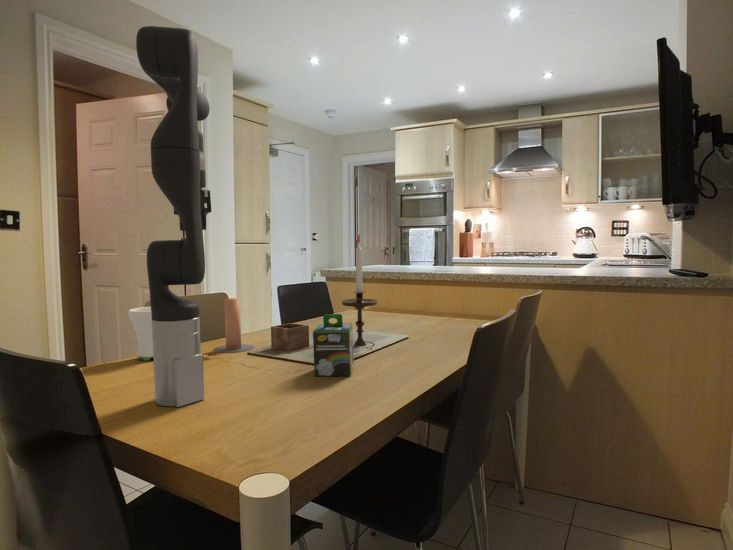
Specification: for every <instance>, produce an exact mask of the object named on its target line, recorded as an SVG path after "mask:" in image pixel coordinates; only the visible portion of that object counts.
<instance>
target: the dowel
mask: <svg viewBox="0 0 733 550" xmlns="http://www.w3.org/2000/svg"><path fill="white" fill-rule="evenodd" d="M224 323H225V328H224V329H225V345H226V349H227V350H238V349H241V344H242V327H241V326H242V325H241V299H240V298H239V297H236V298H235V297H233V298H232V297H230V298H225V299H224Z"/></svg>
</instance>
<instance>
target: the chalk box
mask: <svg viewBox="0 0 733 550" xmlns="http://www.w3.org/2000/svg"><path fill="white" fill-rule="evenodd" d="M322 318H323V323H322V324H318V325H317V326H315V329H314V330H313V331H312V343H313V344H312V345H313V348H312V349H313V369H314V373H313V374H314V377H351V376H352V373H353V370H354V367H355V363H354V360H355V359H354V348H353V347H354V343H353V342H354V336H353V335H354V333H353V323H351V322H350V323H345V322H344V323H343V314H341V313H329V314H328V313H327V314H325V313H324V314H323V317H322ZM331 319H335V320H336V321H337V322H335V323H333V322H330V321H329V320H331Z"/></svg>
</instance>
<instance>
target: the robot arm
mask: <svg viewBox="0 0 733 550" xmlns="http://www.w3.org/2000/svg"><path fill="white" fill-rule="evenodd" d="M135 42H136V43H135V46H136V47H135V48H136V54H137V59H138V62H139V65H140V68H141V69H142V71H143V72H144V73H145V74H146V75H147V76H148V77H149V79H151V80H152V81H153V82H154V83H156V85H158V86H159V87H160V88H161V89H162V90H163V91H164V92H165V94H166V96H167V97H166V102H165V103H166V109H167V113H166V114H165V115H164V116H163V118H162V120H161V121H160V123H159V124H158V125H157V127H156V129H155V130H154V132H153V135H152V138H151V140H150V162H151V163H150V164H151V175H152V177H153V179H154V181H155V183H156V185H157V186H158V187H159V190H161V192H162V193H163V195H164V196H165V198H166V199H167V200H168V202H169V203H170V204H171V206H172V207H173V215H174V216H175V215H176V216H177V217H178V218H179V220H178V221H179V230H180V231H181V232H182V231H183V232H184V233H185V239H183V240H182V239H169V240H165V239H164V240H153V241H151V242H150V243H149V245H148V247H147V250H146V251H147V252H146V270H147V278H148V280H147V281H148V286H149V304H150V307H151V316H152V340H153V357H152V358H153V379H154V380H153V381H154V382H153V383H154V398H155V399H154V400H155V404H156V405H158V406H161V407H163V406H164V407H175V408H179V407H183V406H187V405H190V404H192V403H196V402H199V401H204V400H205V380H204V379H205V377H204V374H205V373H204V359H203V358H204V356H203V354H202V350H201V347H202V345H201V326H200V325H201V322H200V321H201V320H200V306H199V304H198V303H197V302H196V301H194V300H193V301H192V300H190V299H186V298H182V297H181V296H178V295H177V294H175V293H174V292H172V290H171V289H170V287H169V286H183V285H186V286H189V285H190V286H191V285H199V284H201V283H202V282H203V281H204V279H205V273H206V256H205V245H204V235H203V231H205V230H207V215H208V214H209V213H212V200H211V190H210V189H205V188H206V186H207V183H206V181H207V180H206V160H205V153H204V150H205V149H204V135H203V133H202V131H200V130H199V125H198V124H199V123H198V122H201V121H204V120H206V119H207V118H208V116H209V114H210V108H211V107H210V103H209V101H208V98H207V97H206V95H205V94H204V92H202V91H201V90H199V88H198V81H199V80H198V79H199V77H198V76H199V75H198V74H199V52H198V51H199V50H198V43H197V39H196V37H195V35H194V33H193V31H191V30H189V29H186V28H179V27H167V26H155V25H151V26H150V25H149V26H148V25H146V26H143V27H140V28H139V29H138V31H137V34H136V38H135Z"/></svg>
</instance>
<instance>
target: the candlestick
mask: <svg viewBox="0 0 733 550" xmlns="http://www.w3.org/2000/svg"><path fill="white" fill-rule="evenodd" d="M360 238H361V235H360V233H358V236H357V240H356V241H357V247H356V248H355V284H356V285H355V286H356V287H355V289H356V290H355V291H353V294H355V298H349V299H347V298H346V299H343V300H341V306H345V307H353V308H355V310H357V320H356V321H355V323H354V324H355V327H357V329H356V330H355V333H357V339H356V340H355V341H353V349H355V347H363V349H368V348H371V347H374V346H375V343H374V342H371V341H365V340H364V339H363V333H364V332H365V330H363V326H364V325H365V322H364V321H363V310H364V309H365V308H366V307H372V306H376V305H378V299H373V298H364V294H366V293H367V292H365V291H363V249H362V248H361V245H360V243H361V239H360ZM367 344H372V345H371V346H367ZM354 346H355V347H354ZM365 346H366V347H365Z"/></svg>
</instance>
